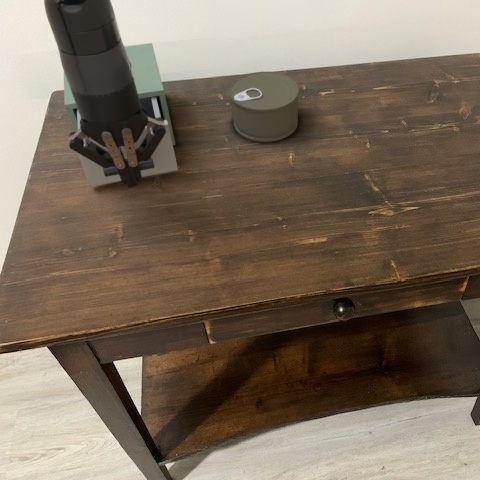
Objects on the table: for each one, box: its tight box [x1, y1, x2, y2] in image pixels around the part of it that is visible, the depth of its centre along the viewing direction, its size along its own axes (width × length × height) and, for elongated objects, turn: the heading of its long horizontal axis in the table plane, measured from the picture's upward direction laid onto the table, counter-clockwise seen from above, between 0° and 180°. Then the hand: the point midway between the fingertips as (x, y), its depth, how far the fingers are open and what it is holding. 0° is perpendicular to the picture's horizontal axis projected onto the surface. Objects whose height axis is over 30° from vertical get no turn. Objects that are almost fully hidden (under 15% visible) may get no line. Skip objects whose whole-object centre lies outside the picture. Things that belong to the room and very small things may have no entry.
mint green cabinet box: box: [63, 42, 176, 146], centre depth 91 cm, size 16×15×11 cm
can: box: [228, 71, 300, 143], centre depth 94 cm, size 12×12×7 cm
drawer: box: [76, 96, 179, 187], centre depth 84 cm, size 20×14×9 cm
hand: (133, 183), depth 77 cm, fingers closed
